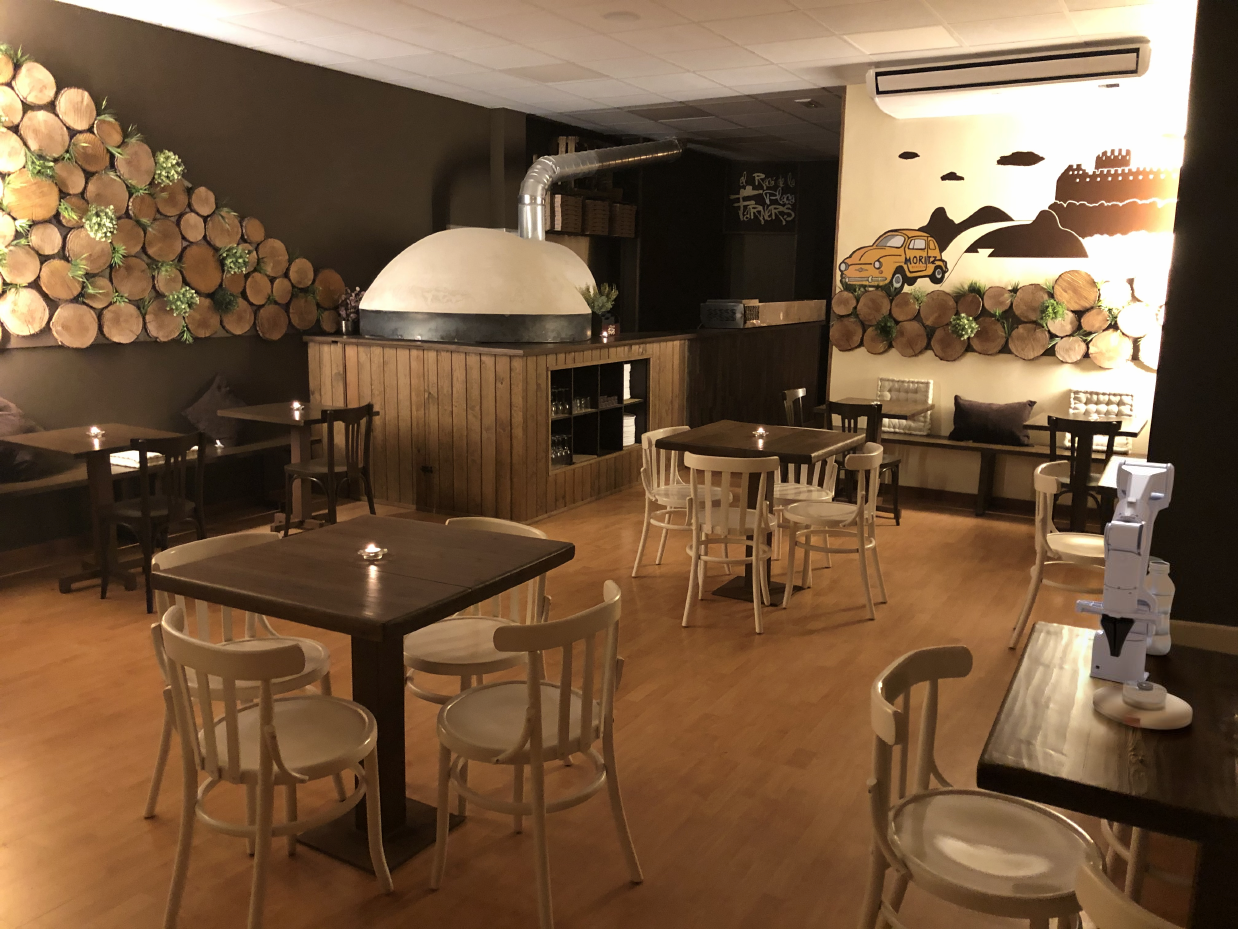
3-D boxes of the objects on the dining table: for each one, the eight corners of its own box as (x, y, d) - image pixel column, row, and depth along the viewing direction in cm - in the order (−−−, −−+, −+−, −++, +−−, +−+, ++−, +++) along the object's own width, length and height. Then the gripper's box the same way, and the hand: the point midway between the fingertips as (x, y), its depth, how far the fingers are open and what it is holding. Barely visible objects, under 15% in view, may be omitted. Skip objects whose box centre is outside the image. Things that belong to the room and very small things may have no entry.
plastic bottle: (1174, 659, 204) (1182, 568, 201) (1139, 657, 206) (1147, 566, 202) (1164, 649, 211) (1172, 559, 207) (1130, 647, 212) (1137, 558, 209)
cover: (1117, 704, 177) (1118, 685, 176) (1127, 692, 182) (1129, 674, 181) (1160, 714, 172) (1161, 695, 171) (1169, 702, 177) (1171, 683, 177)
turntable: (1082, 714, 176) (1083, 706, 176) (1103, 686, 189) (1104, 678, 188) (1183, 738, 166) (1184, 729, 166) (1198, 706, 179) (1199, 699, 179)
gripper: (1073, 583, 181) (1068, 652, 183) (1161, 597, 172) (1154, 670, 174) (1083, 574, 186) (1078, 642, 189) (1168, 588, 177) (1162, 658, 180)
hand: (1115, 655), depth 182 cm, fingers closed
